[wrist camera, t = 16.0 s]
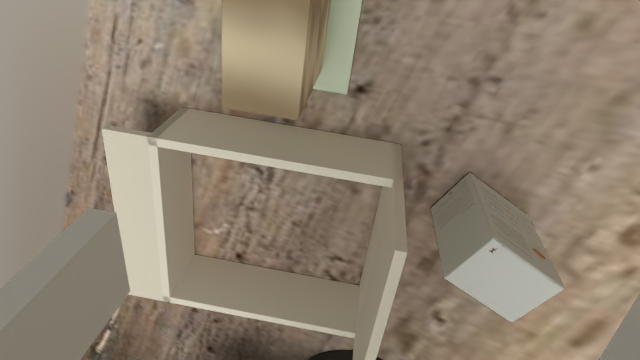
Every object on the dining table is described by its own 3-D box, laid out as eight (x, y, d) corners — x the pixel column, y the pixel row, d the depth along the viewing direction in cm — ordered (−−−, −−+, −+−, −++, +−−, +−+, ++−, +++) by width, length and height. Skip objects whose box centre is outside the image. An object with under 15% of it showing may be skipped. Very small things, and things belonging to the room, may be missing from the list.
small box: (429, 206, 44) (440, 278, 35) (469, 169, 41) (492, 236, 32) (486, 247, 46) (511, 326, 37) (529, 214, 43) (567, 290, 34)
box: (322, 68, 38) (297, 120, 27) (266, 59, 38) (221, 107, 28) (342, -93, 31) (321, -104, 21) (275, -103, 32) (222, -118, 21)
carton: (364, 291, 51) (356, 424, 37) (157, 252, 52) (75, 366, 39) (400, 144, 41) (407, 252, 27) (142, 100, 42) (24, 182, 29)
